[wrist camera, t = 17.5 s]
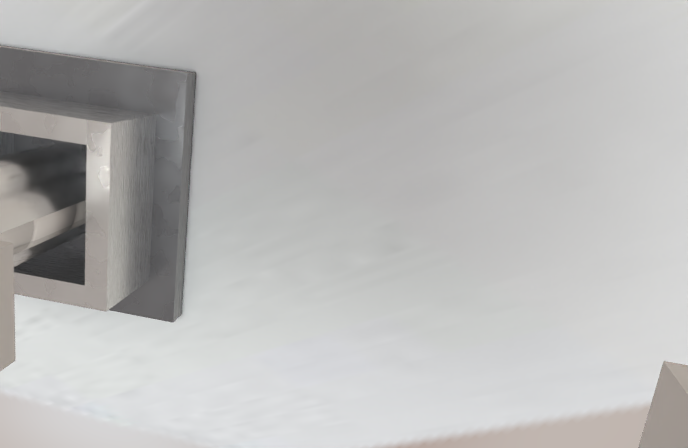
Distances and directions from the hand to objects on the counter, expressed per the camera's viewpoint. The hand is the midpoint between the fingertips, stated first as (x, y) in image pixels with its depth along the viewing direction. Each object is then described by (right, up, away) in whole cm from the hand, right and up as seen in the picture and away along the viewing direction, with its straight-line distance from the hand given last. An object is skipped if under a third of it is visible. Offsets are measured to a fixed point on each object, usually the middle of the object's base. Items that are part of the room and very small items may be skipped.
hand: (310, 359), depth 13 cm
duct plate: (-18, +6, +34) cm, 39 cm away
